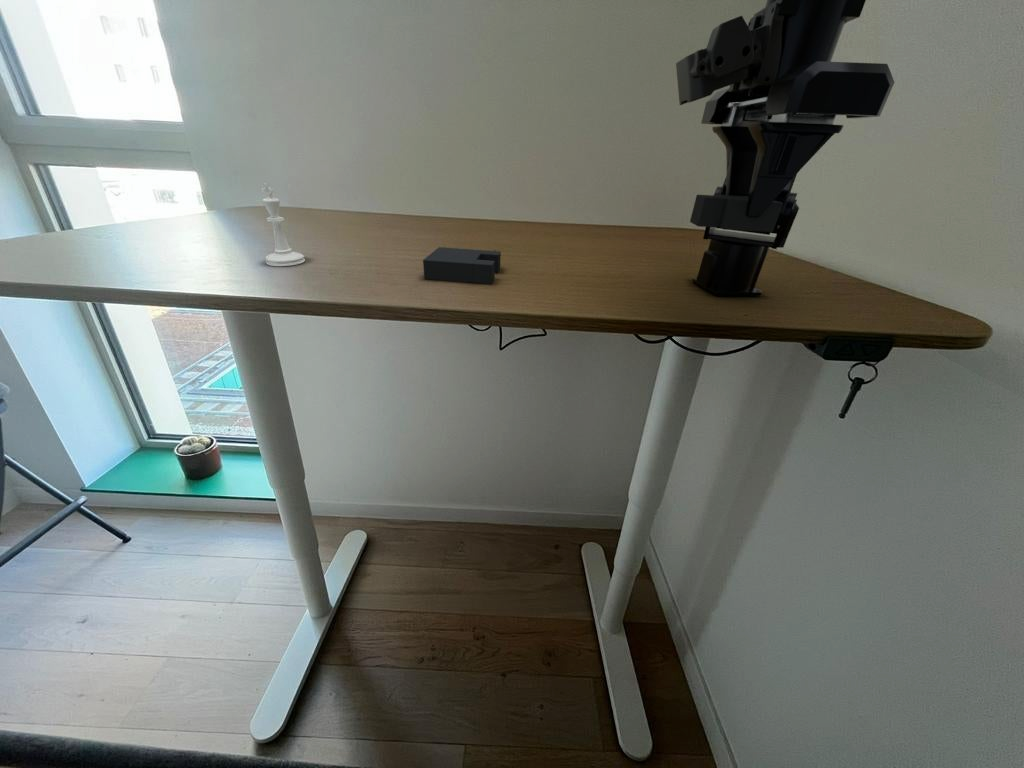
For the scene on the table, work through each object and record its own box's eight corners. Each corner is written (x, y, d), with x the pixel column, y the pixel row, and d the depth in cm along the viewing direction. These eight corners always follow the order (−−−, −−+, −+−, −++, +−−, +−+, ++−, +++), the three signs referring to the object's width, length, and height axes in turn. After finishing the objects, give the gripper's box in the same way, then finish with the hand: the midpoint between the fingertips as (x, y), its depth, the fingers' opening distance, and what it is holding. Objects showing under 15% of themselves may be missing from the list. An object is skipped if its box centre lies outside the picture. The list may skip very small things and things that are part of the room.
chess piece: (290, 267, 54) (269, 186, 49) (258, 264, 55) (234, 183, 50) (312, 259, 58) (296, 182, 53) (282, 256, 59) (263, 180, 54)
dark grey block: (752, 224, 40) (761, 196, 39) (773, 232, 36) (783, 202, 35) (686, 220, 41) (693, 193, 39) (700, 228, 37) (708, 198, 36)
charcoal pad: (500, 269, 58) (500, 251, 57) (491, 284, 52) (492, 265, 50) (439, 264, 59) (438, 246, 57) (424, 279, 52) (422, 259, 51)
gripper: (671, 18, 38) (637, 197, 46) (755, -71, 22) (682, 225, 30) (790, 22, 38) (735, 202, 46) (965, -67, 22) (833, 234, 30)
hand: (741, 213), depth 38 cm, fingers closed on dark grey block, 4 cm apart
